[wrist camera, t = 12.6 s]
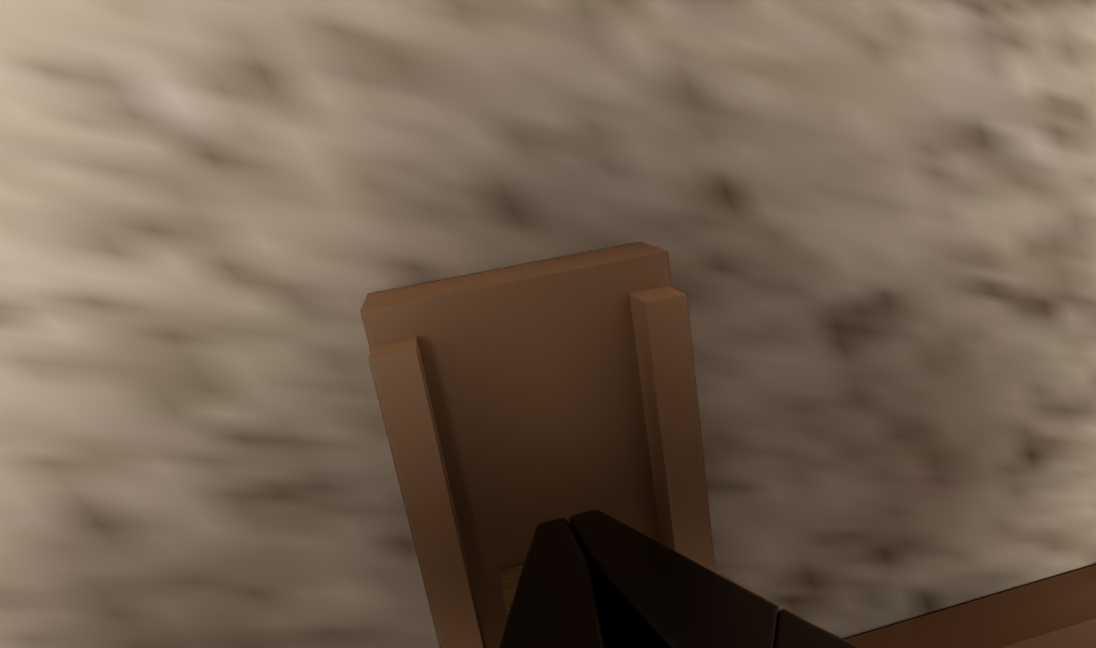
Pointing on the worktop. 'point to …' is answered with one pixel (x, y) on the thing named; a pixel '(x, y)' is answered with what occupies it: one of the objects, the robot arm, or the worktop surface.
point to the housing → (588, 439)
